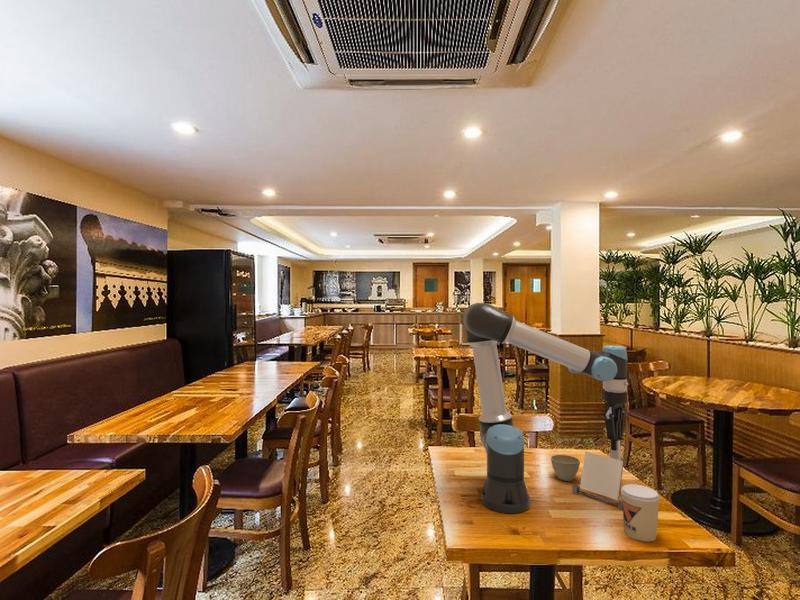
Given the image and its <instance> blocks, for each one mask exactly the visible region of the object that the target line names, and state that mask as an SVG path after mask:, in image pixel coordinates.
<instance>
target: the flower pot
mask: <svg viewBox="0 0 800 600" xmlns="http://www.w3.org/2000/svg"><path fill="white" fill-rule="evenodd" d="M550 461H551V465H552V468H553V470H554V474H555V475H556V477H557V479H559V480H561V481H564V482H571V481H573V480H574V478H575V477H576V476H577V473H578V471H579V468H580V464H581V460H580V459H579V458H577V457H575V456H572V455H569V454H568V455H567V454H553V455H552V456H551V457H550Z"/></svg>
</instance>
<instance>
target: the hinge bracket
mask: <svg viewBox="0 0 800 600" xmlns="http://www.w3.org/2000/svg"><path fill="white" fill-rule="evenodd" d="M571 493H572V494H573V495H578V494H583V495H585V496H589V497H591V498H594V499H598V500H599V501H603V502H606V503H609V504H613V505H615V506H617V508H618V510H622V511H623V505H622V498H619V500H617V502H616V501H614V500H609V499H607V498H604V497H602V496H598V495H595V494H591V493H589V492H586V491H582V490H581V488H580V484H573V485H572V486H571Z"/></svg>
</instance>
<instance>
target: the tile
mask: <svg viewBox="0 0 800 600" xmlns="http://www.w3.org/2000/svg"><path fill="white" fill-rule="evenodd" d="M624 462H625V461H624V460H621V459H620V460H617V459H613V458H610V456H605V455H602V454H597V453H594V452H590V451H584V457H583V463H582V464H583V466H582V472H581V478H580V484H579V486H580V489H583V490H585V491H589V492H592V493H595V494H598V495H601V496H604V497H607V498H610V499H613V500H616V501H619V500H620V494H621V488H622V487H621V485H622V477H623V471H624Z"/></svg>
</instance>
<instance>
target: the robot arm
mask: <svg viewBox="0 0 800 600" xmlns="http://www.w3.org/2000/svg"><path fill="white" fill-rule="evenodd" d="M462 325H463V327H464V330H465V338H466V344H468V345H469V346H470V347H472V355H473V361H474V368H475V369H474V370H475V375H476V381H477V387H478V394H479V400H480V406H481V414H480V416H479V417H478V422H479V429H480V430H479V438H480V441H481V443H482V446H483V448H484V450H485V453H486V478H485V482H484V484H483V487H482V491H481V502H482V503H481V504H482V505H484V506H485V507H486V508H488V509H490V510H492V511H495V512H498V513H504V514H518V513H519V514H520V513H524V512H526V511H528V509H529V508H531V507H530V506H531V505H530V504H531V497H530V494H529V493H528V492H529V491H528V488H527V485H526V482H525V438H524V433H523V432H522V430H521V429H520V428H518V427H514V426H515V425H514V421H513V415H512V413H510V412H509V411H508V409H507V404H506V398H505V391H504V390H505V389H504V385H503V384H504V383H503V379H502V378H503V377H502V372H501V366H500V359H499V353H498V347H497V343H499V344H502V345H503V344H505V343H509V344H510V345H513V346H514V347H517V348H520V349H523V350H526V351H528V352H530V353H532V354H534V355H535V354H536V355H537V356H540V357H541V358H545V359H547V360H550V361H552V362H555V363H557V364H559V365H561V366H562V365H563V366H565V367H567V370H568V371H569V372H570V373H572V374H584V375H586V376H589V377H591V378H593V379H594V380H598V381H600V382H602V389H604V390H603V391H602V395H603V397H602V400H603V401H604V402H605V403H607V409H606V412H604V413H603V417H604V421H605V429H606V431H605V432H606V437H607V440H609V441H610V453H609V454H610V456H609V458H613V459H617V460H621V441H624V433H625V432H624V430H625V420H626V419H625V418H626V413H627V408H626V407H625V408H624V405H625V404H628V392H627V391H628V386H629V382H628V361H629V360H628V353H627V352H628V351H627V348H626V347H625V346H623V345H604V346H603V347H602V351H591V350H589V349H587V348H584V347H581V346H579V345H577V344H574V343H572V342H570V341H566V340H564V339H562V338H559V337H557V336H554V335H552V334H549V333H547V332H545V331H542V330H540V329H538V328H535V327H532V326H531V325H528V324H525V323H522V322H521V321H518V320H516V318H515V317H514V315H510V314H509V313H507V312H504V311H503V310H501V309H499V308H497V307H495V306H494V305H493V304H490V303H488V302H476V303H472V304H471V305H469V306H467V308H465V311H464V312H463V314H462Z"/></svg>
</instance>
